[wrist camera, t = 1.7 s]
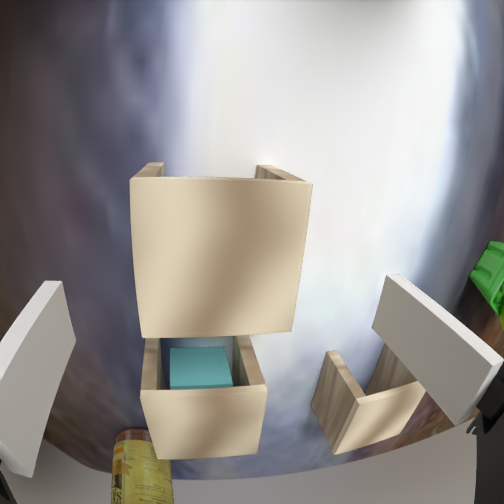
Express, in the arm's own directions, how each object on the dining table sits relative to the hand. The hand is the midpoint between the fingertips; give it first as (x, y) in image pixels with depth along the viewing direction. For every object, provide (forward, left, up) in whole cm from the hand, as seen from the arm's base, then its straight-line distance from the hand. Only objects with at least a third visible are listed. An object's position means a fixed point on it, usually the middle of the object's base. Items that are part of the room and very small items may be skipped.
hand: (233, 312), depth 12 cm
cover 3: (+22, +3, -10) cm, 24 cm away
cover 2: (+10, -8, -10) cm, 16 cm away
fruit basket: (+24, +24, -11) cm, 35 cm away
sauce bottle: (+15, -20, -11) cm, 28 cm away
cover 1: (0, 0, -10) cm, 10 cm away
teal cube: (+10, -8, -10) cm, 16 cm away
